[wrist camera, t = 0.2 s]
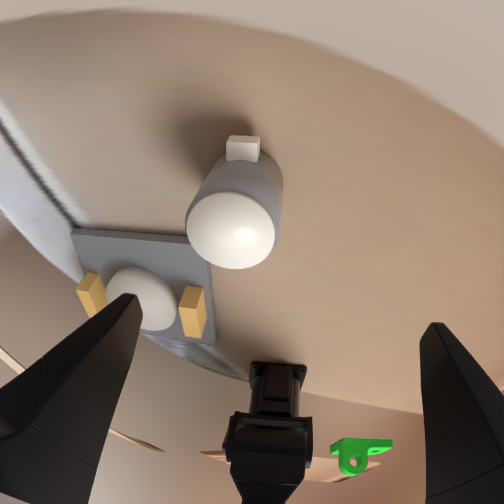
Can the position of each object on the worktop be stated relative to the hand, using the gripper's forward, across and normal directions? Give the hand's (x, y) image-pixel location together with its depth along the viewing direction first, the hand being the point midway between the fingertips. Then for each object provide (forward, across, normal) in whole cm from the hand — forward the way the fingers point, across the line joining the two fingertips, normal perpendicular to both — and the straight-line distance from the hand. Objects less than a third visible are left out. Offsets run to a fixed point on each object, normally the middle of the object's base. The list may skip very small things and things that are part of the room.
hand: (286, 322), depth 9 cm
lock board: (+14, +12, +14) cm, 23 cm away
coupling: (+14, +3, +2) cm, 14 cm away
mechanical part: (+15, -22, +56) cm, 62 cm away
